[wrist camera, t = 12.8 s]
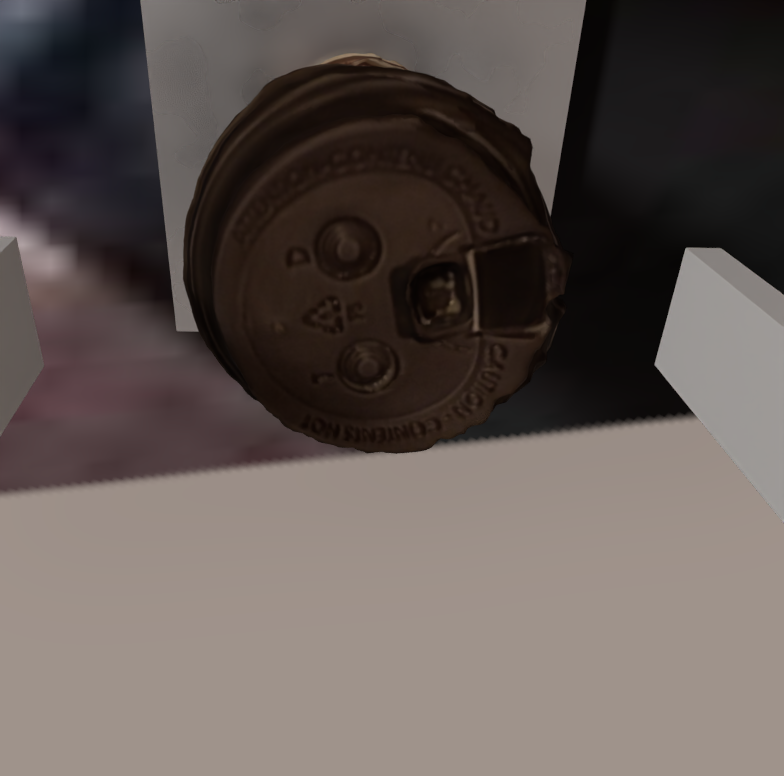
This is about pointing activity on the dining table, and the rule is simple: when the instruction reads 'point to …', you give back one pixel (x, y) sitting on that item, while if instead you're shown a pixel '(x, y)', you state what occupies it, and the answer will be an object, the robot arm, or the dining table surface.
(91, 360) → the dining table surface
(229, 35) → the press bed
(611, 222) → the dining table surface
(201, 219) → the coffee cup
